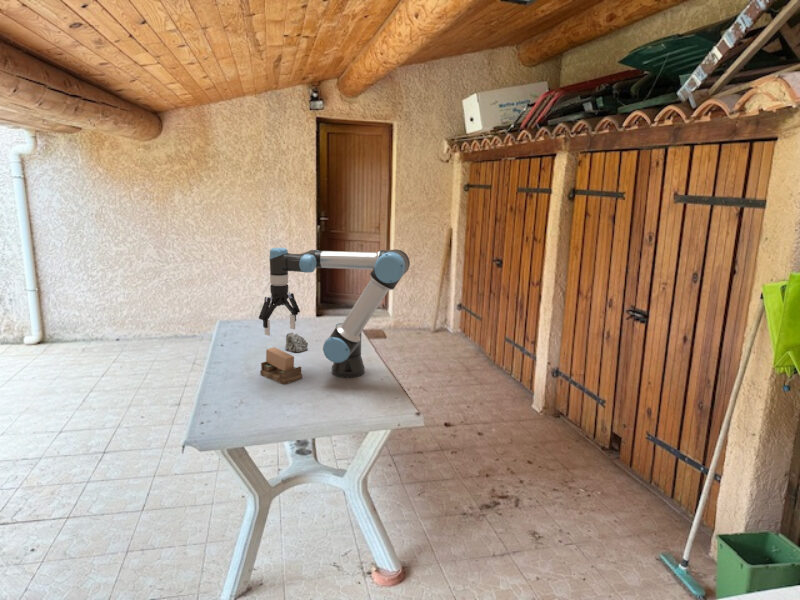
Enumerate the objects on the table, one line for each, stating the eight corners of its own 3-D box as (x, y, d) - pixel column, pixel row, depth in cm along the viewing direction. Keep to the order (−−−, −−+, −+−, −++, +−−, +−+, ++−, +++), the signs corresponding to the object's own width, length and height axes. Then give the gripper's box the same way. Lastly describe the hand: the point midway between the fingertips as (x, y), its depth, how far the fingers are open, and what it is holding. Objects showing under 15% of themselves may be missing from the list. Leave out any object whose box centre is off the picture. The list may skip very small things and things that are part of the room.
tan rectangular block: (293, 369, 225) (294, 356, 224) (285, 371, 222) (285, 358, 220) (274, 359, 234) (274, 347, 232) (266, 361, 231) (266, 349, 229)
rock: (277, 352, 266) (281, 341, 259) (286, 339, 273) (289, 328, 266) (300, 363, 266) (304, 352, 259) (308, 350, 273) (312, 339, 266)
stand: (302, 378, 227) (302, 366, 226) (284, 384, 220) (283, 372, 218) (278, 369, 238) (278, 357, 236) (260, 374, 230) (260, 363, 229)
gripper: (296, 279, 231) (297, 324, 236) (249, 286, 213) (250, 335, 217) (307, 281, 227) (308, 327, 231) (260, 289, 208) (261, 339, 213)
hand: (280, 331), depth 224 cm, fingers open, 13 cm apart
